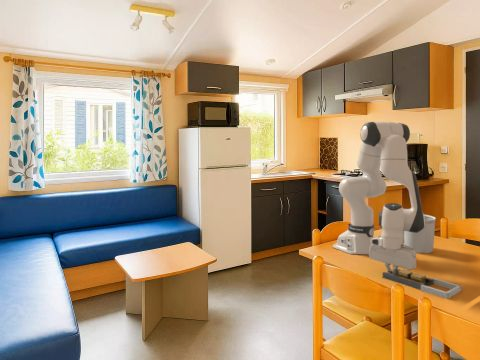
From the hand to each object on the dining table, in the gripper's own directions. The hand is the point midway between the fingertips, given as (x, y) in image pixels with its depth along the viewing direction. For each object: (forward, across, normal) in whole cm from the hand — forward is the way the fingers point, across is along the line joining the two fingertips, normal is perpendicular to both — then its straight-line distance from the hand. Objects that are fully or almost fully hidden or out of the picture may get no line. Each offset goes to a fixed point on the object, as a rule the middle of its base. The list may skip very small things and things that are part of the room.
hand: (391, 274), depth 164 cm
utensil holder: (+2, +13, -47) cm, 49 cm away
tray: (+2, -21, 0) cm, 21 cm away
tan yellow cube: (+1, -6, 0) cm, 6 cm away
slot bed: (+2, -7, 0) cm, 7 cm away
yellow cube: (+1, -12, 0) cm, 12 cm away
